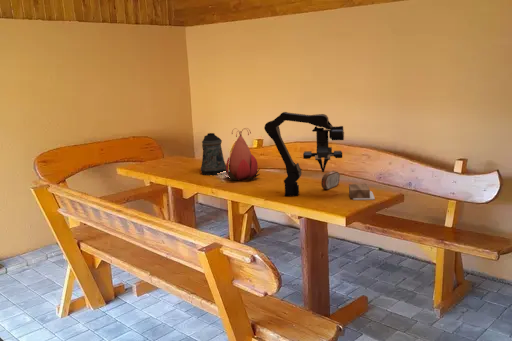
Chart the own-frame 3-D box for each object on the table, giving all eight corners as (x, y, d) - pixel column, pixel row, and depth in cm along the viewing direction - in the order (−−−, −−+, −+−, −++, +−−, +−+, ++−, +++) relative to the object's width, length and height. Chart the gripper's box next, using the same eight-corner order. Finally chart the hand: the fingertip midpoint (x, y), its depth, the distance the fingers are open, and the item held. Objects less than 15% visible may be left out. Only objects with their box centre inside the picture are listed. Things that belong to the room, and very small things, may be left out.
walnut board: (350, 190, 228) (369, 190, 227) (349, 184, 240) (367, 184, 238) (350, 198, 229) (369, 198, 227) (349, 192, 240) (367, 191, 239)
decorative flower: (266, 176, 288) (264, 126, 282) (248, 185, 268) (245, 131, 262) (234, 174, 298) (231, 126, 292) (214, 182, 278) (211, 131, 272)
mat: (353, 200, 228) (353, 198, 228) (351, 192, 241) (351, 191, 241) (374, 199, 226) (374, 198, 226) (371, 192, 240) (371, 191, 240)
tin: (335, 184, 260) (335, 169, 258) (340, 185, 258) (340, 169, 256) (320, 190, 249) (320, 174, 247) (326, 191, 247) (325, 175, 245)
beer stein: (216, 176, 293) (214, 135, 288) (191, 174, 304) (189, 135, 299) (232, 171, 307) (229, 132, 302) (207, 169, 317) (205, 131, 312)
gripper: (302, 143, 226) (303, 175, 229) (342, 142, 224) (343, 175, 227) (303, 140, 237) (304, 170, 240) (341, 139, 234) (342, 170, 238)
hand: (323, 171), depth 236 cm, fingers closed
